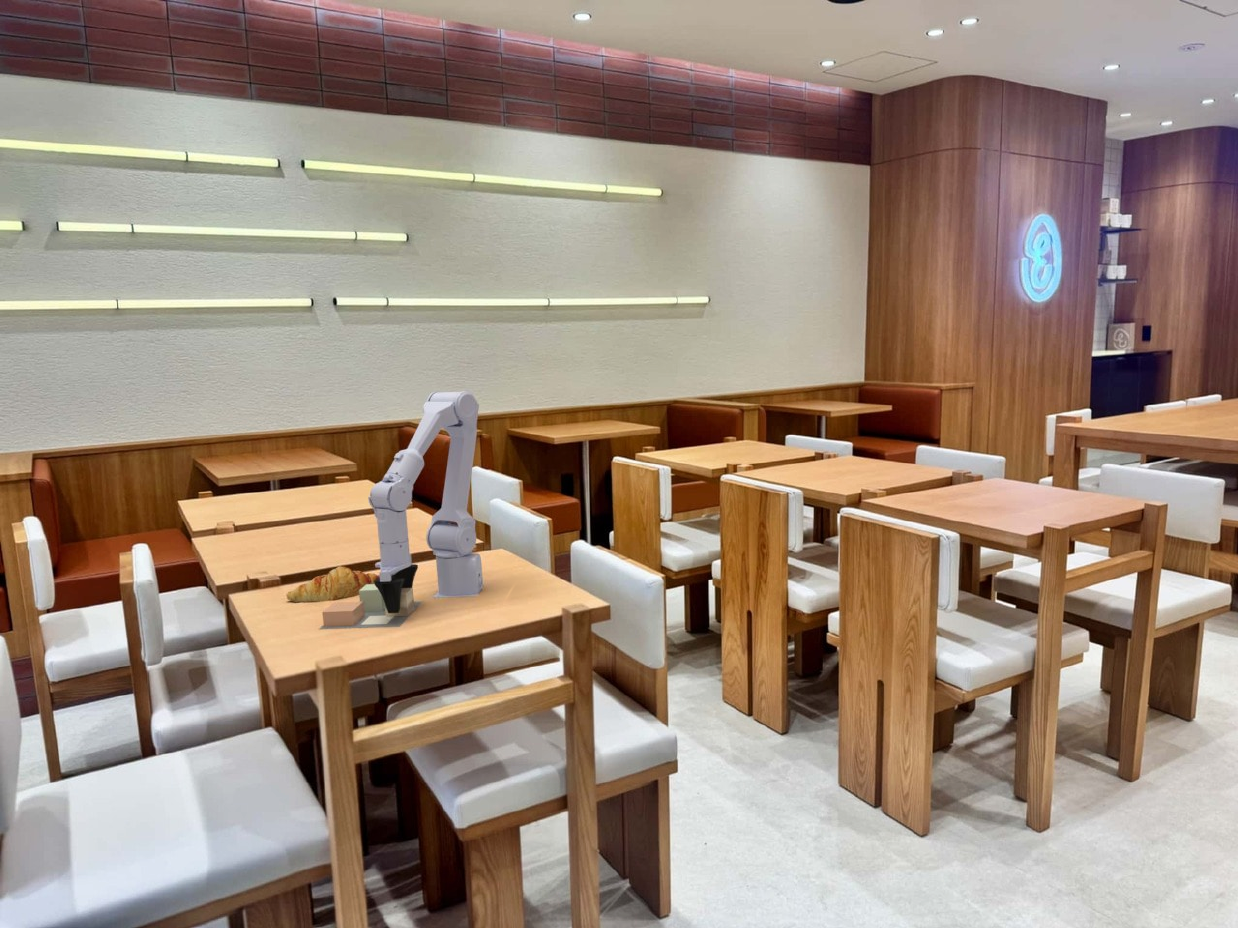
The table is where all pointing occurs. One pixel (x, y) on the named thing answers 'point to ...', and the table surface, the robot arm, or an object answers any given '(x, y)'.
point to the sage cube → (371, 598)
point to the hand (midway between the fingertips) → (399, 606)
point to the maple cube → (404, 603)
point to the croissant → (332, 586)
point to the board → (377, 620)
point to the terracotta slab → (343, 614)
